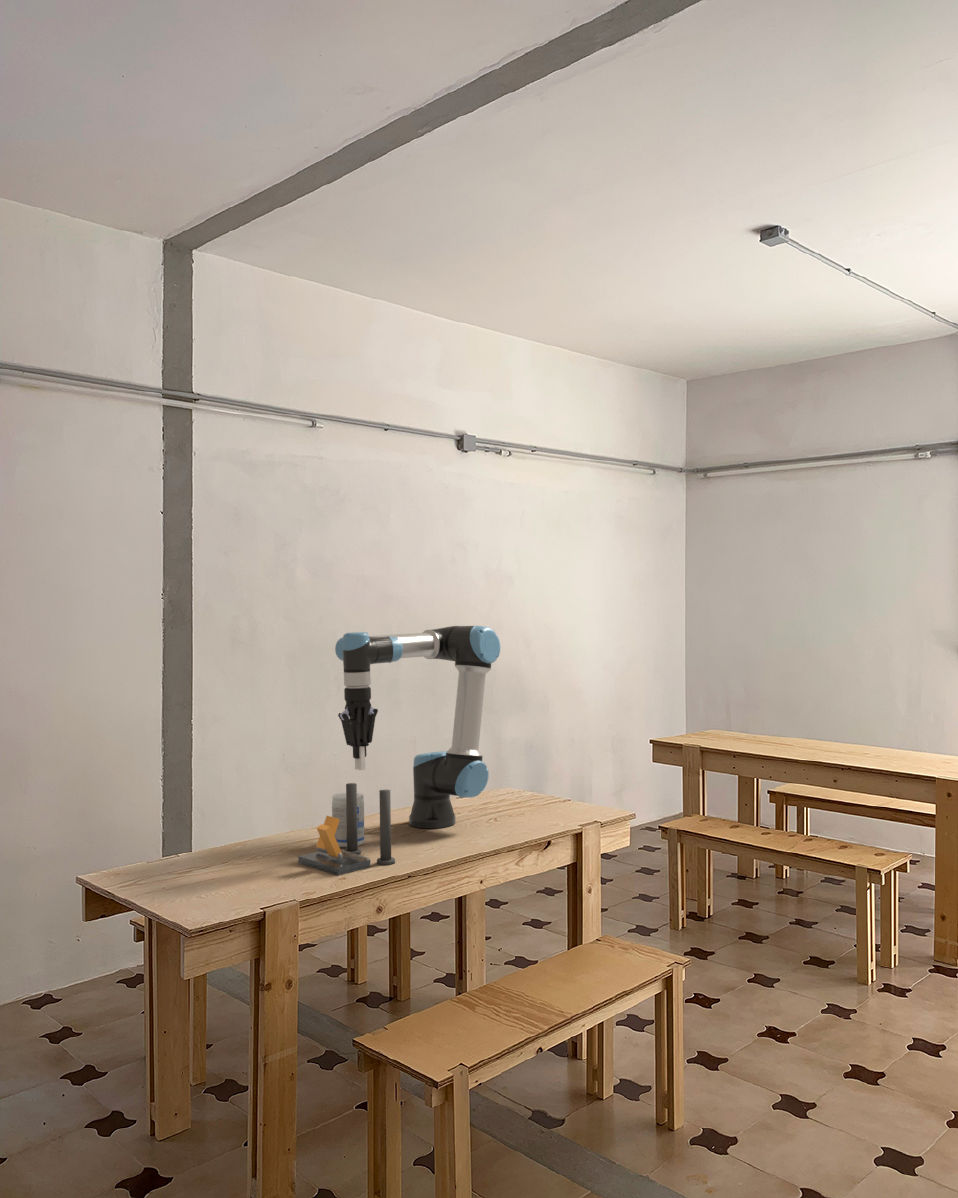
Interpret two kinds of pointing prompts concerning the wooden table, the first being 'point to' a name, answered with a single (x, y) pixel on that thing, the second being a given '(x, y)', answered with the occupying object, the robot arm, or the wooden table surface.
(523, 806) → the wooden table surface
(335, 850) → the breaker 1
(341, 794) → the supplement tub
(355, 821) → the post
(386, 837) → the post
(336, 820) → the orange flat block
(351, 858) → the panel plate
